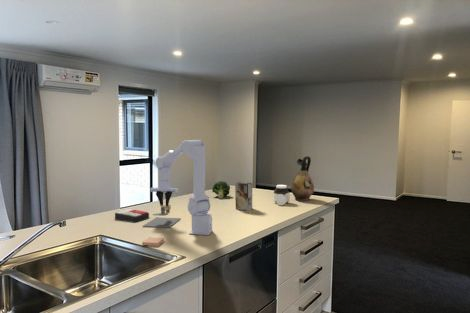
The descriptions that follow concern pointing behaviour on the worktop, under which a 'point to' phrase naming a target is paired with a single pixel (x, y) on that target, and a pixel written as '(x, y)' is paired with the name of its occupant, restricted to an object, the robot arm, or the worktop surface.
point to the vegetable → (221, 189)
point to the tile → (153, 241)
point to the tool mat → (162, 222)
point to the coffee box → (243, 195)
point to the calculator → (131, 215)
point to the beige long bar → (164, 210)
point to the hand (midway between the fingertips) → (164, 205)
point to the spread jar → (281, 194)
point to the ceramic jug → (303, 181)
